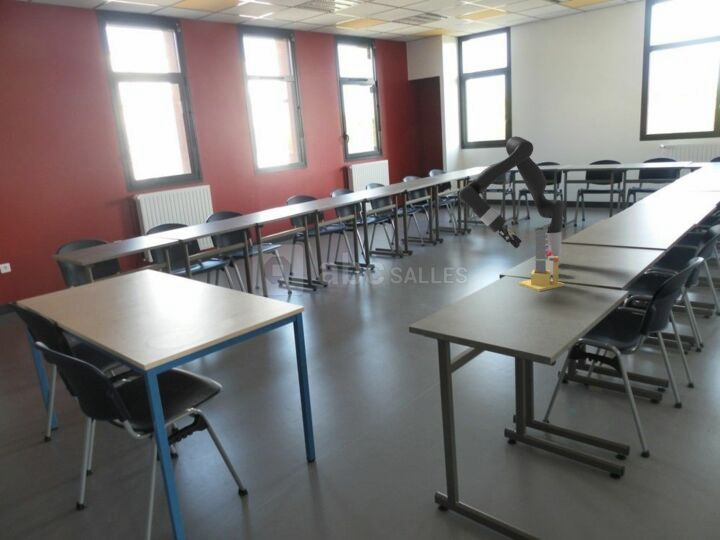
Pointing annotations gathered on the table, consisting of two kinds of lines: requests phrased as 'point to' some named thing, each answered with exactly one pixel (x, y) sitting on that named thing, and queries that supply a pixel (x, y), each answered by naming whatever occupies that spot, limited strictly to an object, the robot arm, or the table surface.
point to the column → (541, 249)
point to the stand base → (544, 278)
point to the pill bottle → (549, 262)
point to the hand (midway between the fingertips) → (519, 244)
